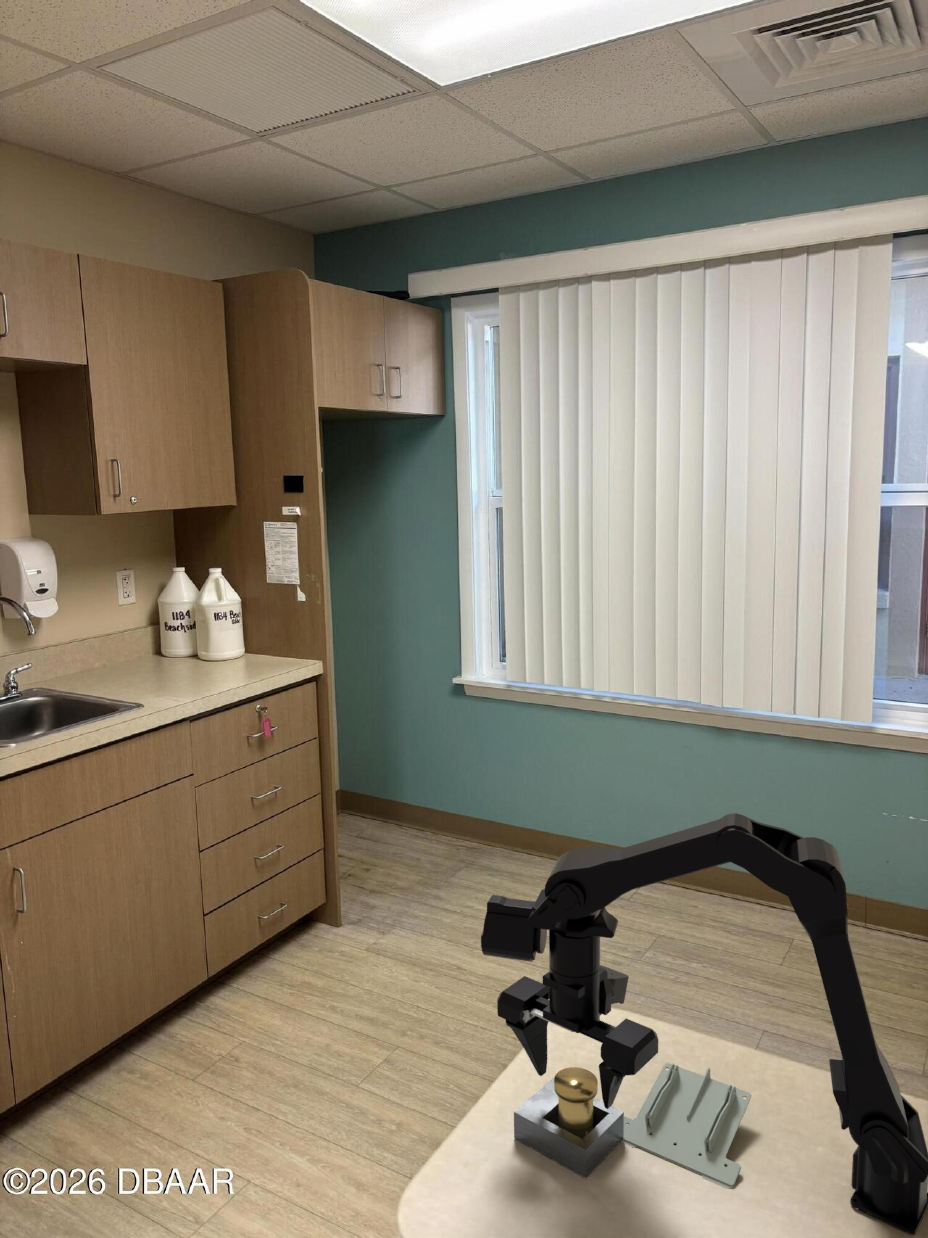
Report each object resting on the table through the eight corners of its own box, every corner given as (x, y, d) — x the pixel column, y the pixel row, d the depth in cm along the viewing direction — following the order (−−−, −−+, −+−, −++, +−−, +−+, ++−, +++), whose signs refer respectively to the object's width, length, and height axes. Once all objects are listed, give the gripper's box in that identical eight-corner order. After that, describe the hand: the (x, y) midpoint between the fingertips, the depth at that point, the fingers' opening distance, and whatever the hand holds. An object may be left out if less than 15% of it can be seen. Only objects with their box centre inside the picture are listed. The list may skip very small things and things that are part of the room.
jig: (623, 1139, 111) (623, 1112, 110) (585, 1178, 105) (585, 1150, 104) (553, 1103, 117) (553, 1078, 117) (514, 1138, 111) (513, 1112, 111)
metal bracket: (652, 1041, 121) (769, 1083, 112) (657, 1074, 123) (773, 1118, 114) (602, 1132, 110) (727, 1186, 101) (608, 1166, 112) (731, 1222, 104)
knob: (605, 1141, 111) (606, 1079, 109) (581, 1165, 107) (581, 1101, 106) (570, 1122, 114) (570, 1062, 113) (545, 1145, 110) (545, 1082, 109)
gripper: (683, 962, 107) (681, 1088, 109) (548, 914, 119) (549, 1028, 121) (632, 1005, 99) (631, 1140, 101) (493, 949, 111) (495, 1071, 113)
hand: (574, 1090), depth 109 cm, fingers open, 9 cm apart
